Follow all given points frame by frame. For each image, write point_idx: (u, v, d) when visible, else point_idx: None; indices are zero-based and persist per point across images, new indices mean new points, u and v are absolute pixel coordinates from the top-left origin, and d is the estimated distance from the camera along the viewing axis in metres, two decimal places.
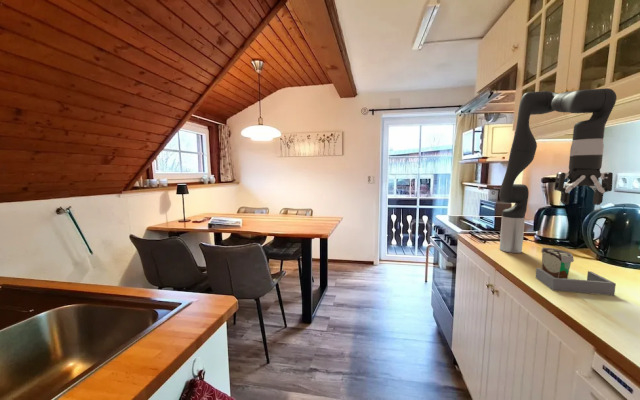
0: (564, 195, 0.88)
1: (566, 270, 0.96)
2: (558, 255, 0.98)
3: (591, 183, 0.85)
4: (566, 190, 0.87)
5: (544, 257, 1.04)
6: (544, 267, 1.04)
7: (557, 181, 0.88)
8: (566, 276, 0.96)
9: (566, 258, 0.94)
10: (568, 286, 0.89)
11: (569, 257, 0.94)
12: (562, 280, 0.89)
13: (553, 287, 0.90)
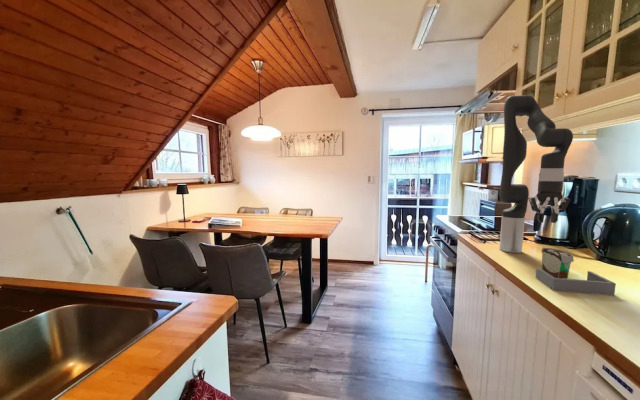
0: (539, 215, 1.08)
1: (566, 270, 0.96)
2: (558, 255, 0.98)
3: (552, 203, 1.06)
4: (541, 211, 1.07)
5: (544, 257, 1.04)
6: (544, 267, 1.04)
7: (531, 204, 1.09)
8: (566, 276, 0.96)
9: (566, 258, 0.94)
10: (568, 286, 0.89)
11: (569, 257, 0.94)
12: (562, 280, 0.89)
13: (553, 287, 0.90)
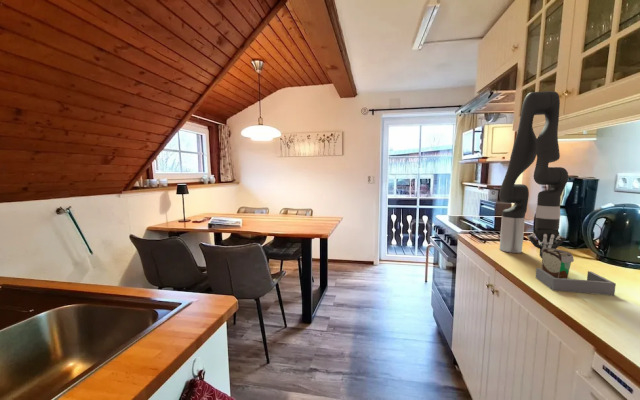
0: None
1: (566, 270, 0.96)
2: (558, 255, 0.98)
3: (547, 239, 1.08)
4: None
5: (544, 257, 1.04)
6: (544, 267, 1.04)
7: (532, 242, 1.10)
8: (566, 276, 0.96)
9: (566, 258, 0.94)
10: (568, 286, 0.89)
11: (569, 257, 0.94)
12: (562, 280, 0.89)
13: (553, 287, 0.90)
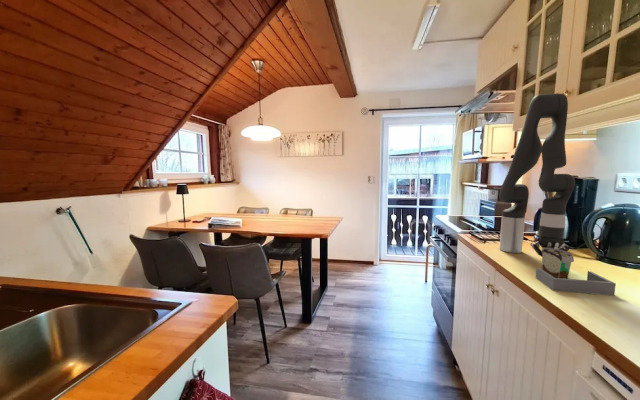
0: None
1: (566, 270, 0.95)
2: (558, 255, 0.98)
3: None
4: None
5: (544, 257, 1.04)
6: (544, 267, 1.04)
7: (535, 250, 1.07)
8: (566, 276, 0.96)
9: (566, 258, 0.94)
10: (568, 286, 0.89)
11: (569, 257, 0.94)
12: (562, 280, 0.89)
13: (553, 287, 0.90)
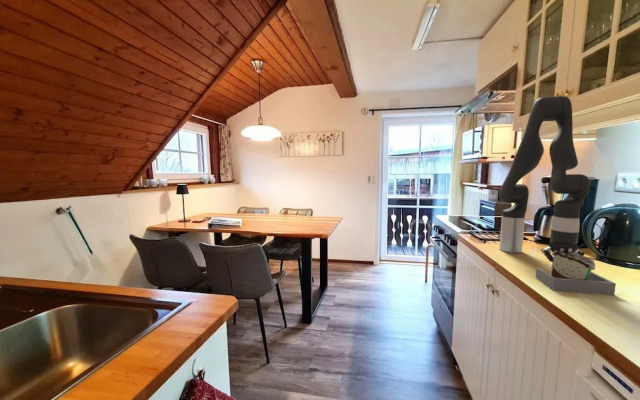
0: None
1: None
2: (579, 260, 0.91)
3: None
4: None
5: (556, 261, 0.97)
6: (555, 271, 0.97)
7: (547, 256, 1.00)
8: None
9: (593, 265, 0.88)
10: (568, 286, 0.89)
11: (594, 263, 0.88)
12: (562, 280, 0.89)
13: (553, 287, 0.90)
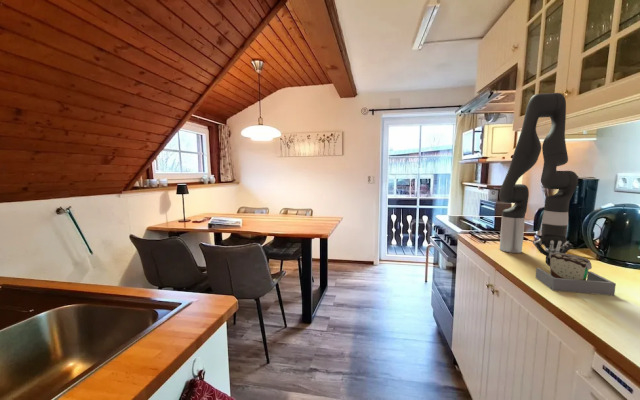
0: (548, 258, 1.05)
1: (586, 276, 0.90)
2: (575, 261, 0.92)
3: (554, 246, 1.03)
4: None
5: (553, 263, 0.98)
6: (554, 274, 0.97)
7: (538, 248, 1.06)
8: None
9: (589, 264, 0.88)
10: (568, 286, 0.89)
11: (590, 262, 0.89)
12: (562, 280, 0.89)
13: (553, 287, 0.90)
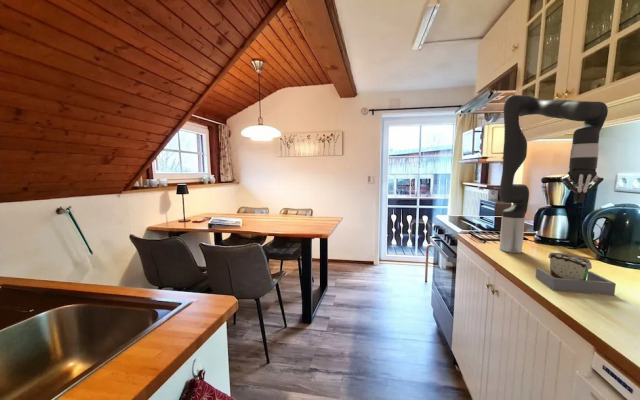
0: (577, 194, 1.02)
1: (586, 276, 0.90)
2: (575, 261, 0.92)
3: (583, 180, 1.01)
4: (578, 190, 1.01)
5: (553, 263, 0.98)
6: (554, 274, 0.97)
7: (566, 185, 1.03)
8: None
9: (589, 264, 0.88)
10: (568, 286, 0.89)
11: (590, 262, 0.89)
12: (562, 280, 0.89)
13: (553, 287, 0.90)
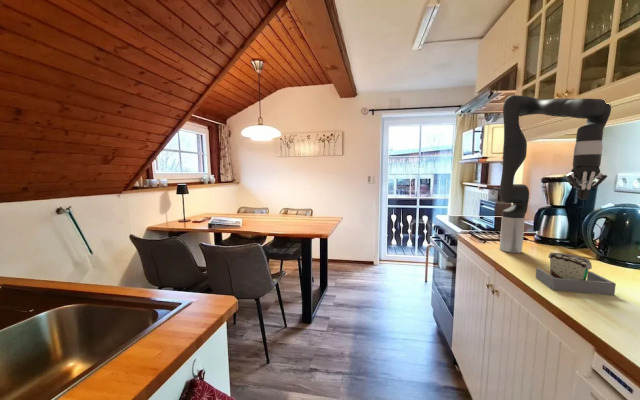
0: (580, 191, 1.02)
1: (586, 276, 0.90)
2: (576, 261, 0.92)
3: (587, 177, 1.01)
4: (582, 187, 1.02)
5: (553, 263, 0.98)
6: (554, 274, 0.97)
7: (570, 182, 1.03)
8: None
9: (589, 264, 0.88)
10: (568, 286, 0.89)
11: (590, 262, 0.89)
12: (562, 280, 0.89)
13: (553, 287, 0.90)
